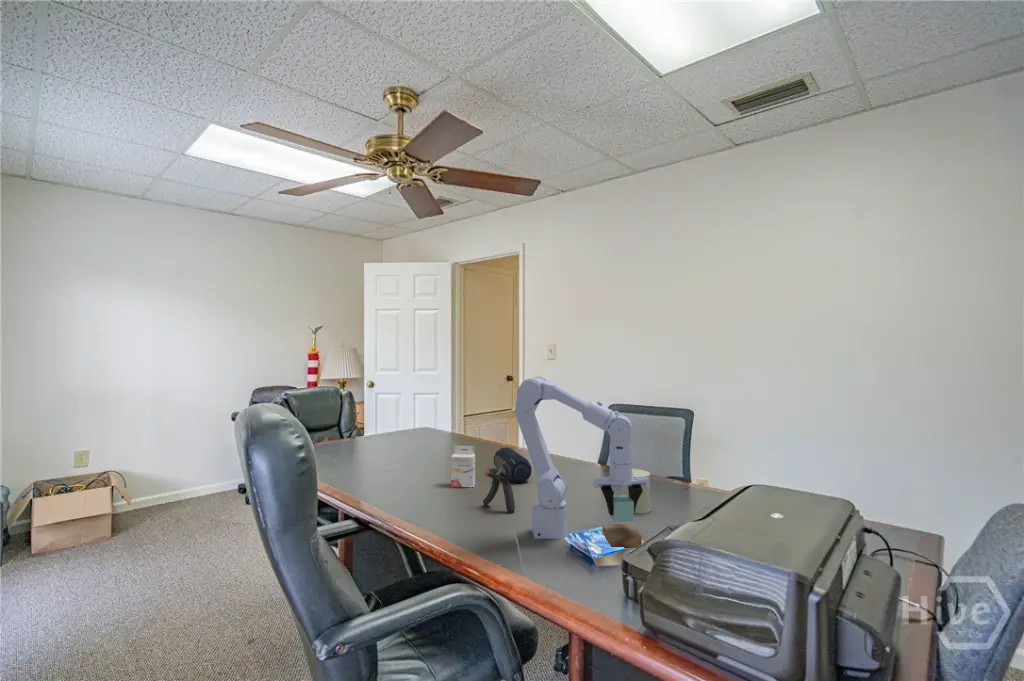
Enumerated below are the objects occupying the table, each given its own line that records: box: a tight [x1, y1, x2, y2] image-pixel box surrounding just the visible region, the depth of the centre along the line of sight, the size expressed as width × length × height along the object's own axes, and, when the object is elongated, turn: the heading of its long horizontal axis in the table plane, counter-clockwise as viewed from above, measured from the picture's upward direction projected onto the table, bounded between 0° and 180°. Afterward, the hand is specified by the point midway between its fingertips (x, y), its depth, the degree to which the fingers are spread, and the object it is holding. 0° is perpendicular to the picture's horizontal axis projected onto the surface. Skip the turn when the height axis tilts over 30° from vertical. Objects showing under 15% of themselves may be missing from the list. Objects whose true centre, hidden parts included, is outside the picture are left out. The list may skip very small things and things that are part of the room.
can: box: [621, 468, 652, 515], centre depth 154 cm, size 9×9×12 cm
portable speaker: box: [493, 447, 533, 484], centre depth 193 cm, size 25×10×10 cm, turn 18°
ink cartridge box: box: [450, 445, 476, 488], centre depth 180 cm, size 9×5×15 cm, turn 84°
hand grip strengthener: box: [482, 463, 516, 514], centre depth 155 cm, size 2×12×15 cm, turn 51°
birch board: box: [591, 538, 646, 567], centre depth 122 cm, size 16×18×1 cm
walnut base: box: [601, 523, 643, 548], centre depth 126 cm, size 8×8×3 cm
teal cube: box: [609, 495, 635, 523], centre depth 126 cm, size 5×5×5 cm
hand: (621, 513), depth 126 cm, fingers closed on teal cube, 5 cm apart
